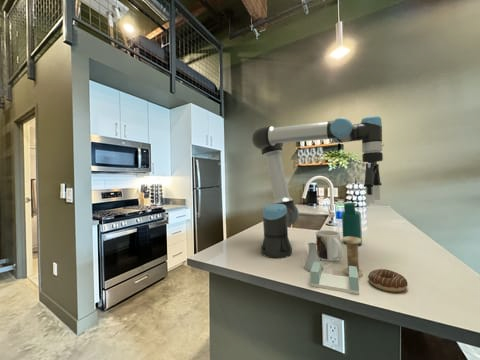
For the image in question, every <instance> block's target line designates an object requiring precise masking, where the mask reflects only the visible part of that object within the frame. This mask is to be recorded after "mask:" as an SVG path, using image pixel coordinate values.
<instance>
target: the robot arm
mask: <svg viewBox="0 0 480 360" xmlns="http://www.w3.org/2000/svg"><path fill="white" fill-rule="evenodd" d="M382 123H383V122H382V118H381V117H380V116H379V115H370V116H367V117H363V118H362V119H361V122H360V123H355V124H352V122H351V120H349V119H348V118H346V117H337V118H335V119H334V120H330V121H329V120H328V121H320V122H313V123H312V122H311V123H305V124H303V123H302V124H296V125H287V126H279V127H275V126H273V125H271V126H261V127H257V128H256V129H255V130H254V131H253V133H252V136H251V142H252V145H253V146H254V147H255V148H256V149H257V150H260V151H261V156H262V157H263V158H265V161H266V166H267V171H268V175H269V180H270V186H271V191H272V196H273V201H272V203H271V204H267V205H265V206H264V207H262V208H263V209H262V220H263V221H262V224H263V225H262V226H263V240H262V243H261V248H260V254H261V255H262V254H263V255H262V256H264V255H265V256H264V257H267V256H268V257H267V258H271V257H275V258H274V259H280V258H281V259H283V258H286V257H287V256H288V257H290V256H292V255H293V247H292V244H291V241H290V240H289V233H288V227H290V226H292V225H293V224H295V222H297V221H298V219H299V216H300V212H299V209H298V207H297V206H296V205H295V201H294V199H293V198H292V197H291V195H290V191H289V187H288V182H287V180H286V173H285V167H284V165H283V159H282V154H283V146H284V143H297V142H298V143H299V142H308V141H320V140H323V141H324V140H332V142H333V143H334V144H343V143H349V142H359V141H361V152H362V153H363V154H361V157H362V159H361V160H362V162H363V163H365V176H364V183H363V188H365V202H366V203H367V204H368V203H369V204H374V203H375V200H376V201H380V200H381V187H380V186H382V181H381V177H380V165H379V163H377V162H382V161H383V160H384V157H383V155H384V154H383V147H384V146H385V144H384V143H383V125H382ZM291 254H292V255H291ZM282 257H283V258H282ZM288 257H287V258H288Z"/></svg>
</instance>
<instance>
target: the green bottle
mask: <svg viewBox="0 0 480 360" xmlns="http://www.w3.org/2000/svg"><path fill="white" fill-rule="evenodd" d="M343 204H344V205H343V206H344V207H343V208H344V209H343V210H344V211H343V212H342V213H341V223H342V225H341V226H342V227H341V229H342V238H343V237H346V236H352V237H358V238H360V239H361V243H358V246H362V244H363V233H362V229H363V227H362V213H361V212H360V211H358V210H356V205H357V203H356V202H346V203H345V202H344V203H343ZM342 243H343V244H344V245H347V243H346V242H344V241H343V240H342Z"/></svg>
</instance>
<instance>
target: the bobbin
mask: <svg viewBox="0 0 480 360" xmlns="http://www.w3.org/2000/svg"><path fill="white" fill-rule="evenodd" d="M343 241H344V242H346V243H347V244H346V258H347V259H346V260H347V267H345V268H344V269H343V270H344V274H345V275H346V276H347V277H349V266H355V267H357V272H358V278H361V277H363V275H364V274H363V273H364V272H363V270H361V269H360V266H359V247H358V243H361V239H360V238H358V237H352V236H346V237H343V236H342V242H343Z"/></svg>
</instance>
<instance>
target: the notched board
mask: <svg viewBox="0 0 480 360" xmlns="http://www.w3.org/2000/svg"><path fill="white" fill-rule="evenodd" d="M321 264H322V262H321V261H320V262H315V261H314V263H313V265H312V268H311V271H310V286H311V287H315V288H319V289H325V290H326V289H327V290H332V291H338V292H343V293H350V294H356V295H360V287H359V284H360V283H359V282H360V281H359V279H360V278H359V277H358V272H357V267H355V266H349V276H344V275H336V274H331V273H329V274H328V273H323V271H321Z"/></svg>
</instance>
